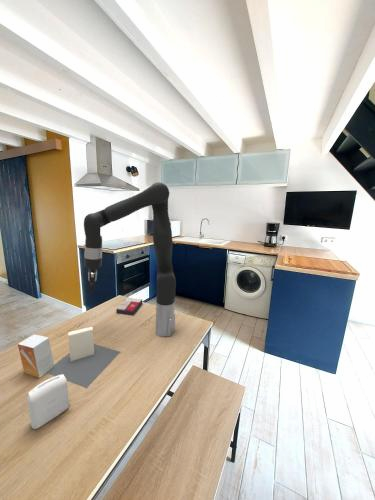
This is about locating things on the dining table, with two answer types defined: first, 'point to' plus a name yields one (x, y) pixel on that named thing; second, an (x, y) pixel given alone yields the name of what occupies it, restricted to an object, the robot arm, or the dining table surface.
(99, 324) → the dining table surface
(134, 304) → the red and black box
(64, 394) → the photo printer
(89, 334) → the cream tile
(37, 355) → the small box
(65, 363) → the charcoal mat
